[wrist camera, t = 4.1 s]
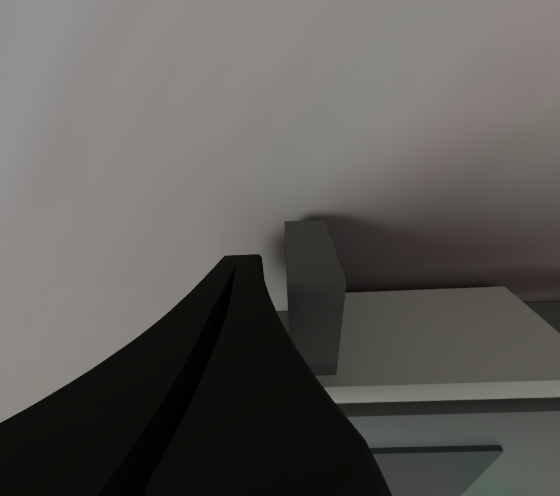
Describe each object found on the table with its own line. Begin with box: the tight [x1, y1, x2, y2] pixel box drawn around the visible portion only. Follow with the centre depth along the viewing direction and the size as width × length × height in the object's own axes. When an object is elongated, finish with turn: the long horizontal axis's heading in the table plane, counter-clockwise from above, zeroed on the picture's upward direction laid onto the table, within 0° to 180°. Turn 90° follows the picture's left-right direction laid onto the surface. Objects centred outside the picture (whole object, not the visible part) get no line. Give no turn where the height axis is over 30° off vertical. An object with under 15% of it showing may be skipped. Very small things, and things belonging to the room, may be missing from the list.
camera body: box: [277, 302, 560, 496], centre depth 13 cm, size 22×12×6 cm, turn 93°
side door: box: [285, 220, 560, 403], centre depth 9 cm, size 10×5×4 cm, turn 93°
